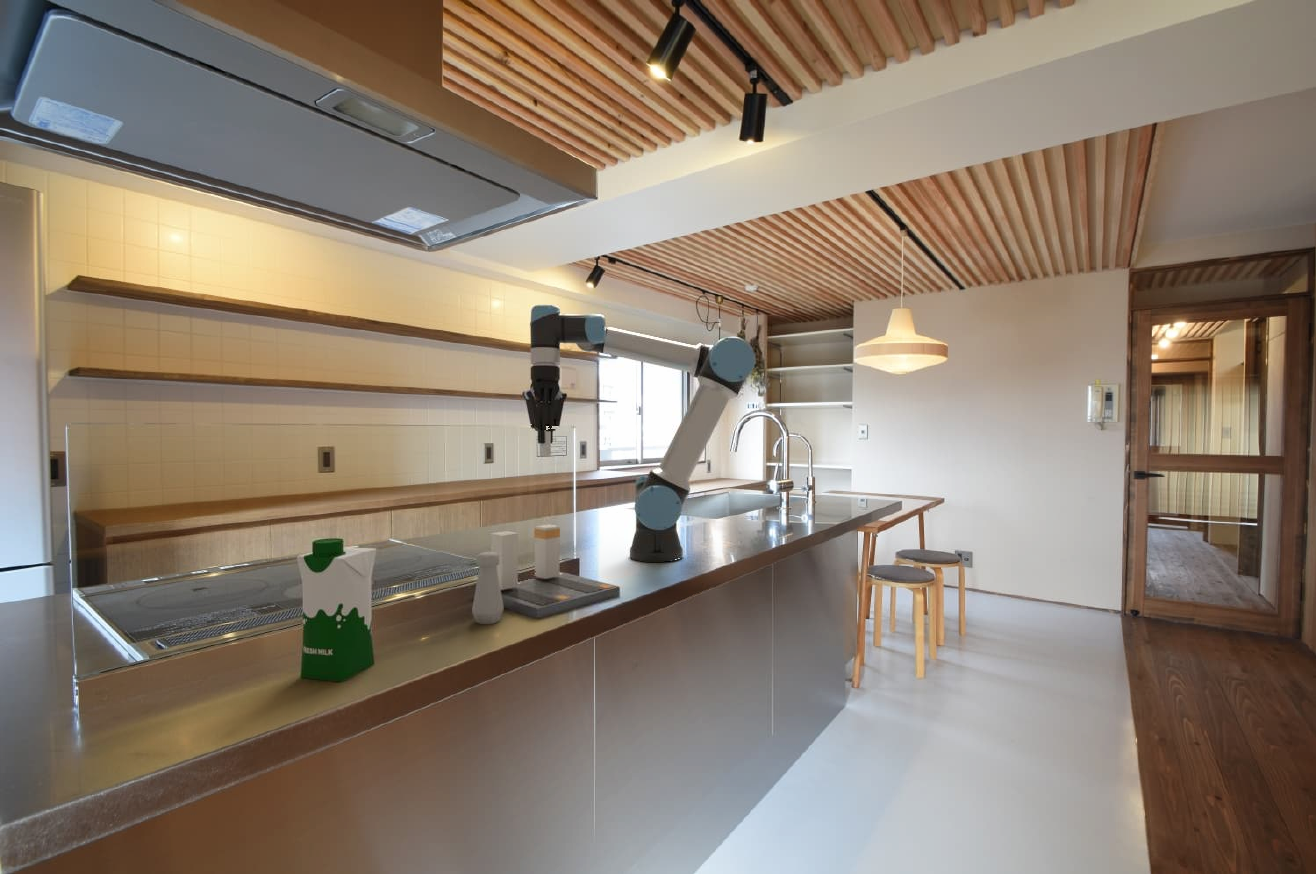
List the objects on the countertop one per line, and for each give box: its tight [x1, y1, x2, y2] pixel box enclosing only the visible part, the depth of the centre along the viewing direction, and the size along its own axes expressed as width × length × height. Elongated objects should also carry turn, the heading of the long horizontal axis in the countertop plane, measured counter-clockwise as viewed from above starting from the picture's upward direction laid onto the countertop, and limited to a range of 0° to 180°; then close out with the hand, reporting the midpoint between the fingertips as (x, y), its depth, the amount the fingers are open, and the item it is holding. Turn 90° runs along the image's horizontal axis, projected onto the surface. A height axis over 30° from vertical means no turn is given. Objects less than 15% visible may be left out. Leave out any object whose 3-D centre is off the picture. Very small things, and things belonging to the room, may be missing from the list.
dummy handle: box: [490, 530, 519, 590], centre depth 129 cm, size 4×4×12 cm
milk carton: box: [296, 537, 378, 683], centre depth 90 cm, size 9×9×20 cm
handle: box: [534, 523, 561, 579], centre depth 139 cm, size 4×4×12 cm
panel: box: [501, 571, 621, 620], centre depth 131 cm, size 22×22×2 cm
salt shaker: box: [471, 551, 504, 626], centre depth 114 cm, size 6×6×13 cm
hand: (545, 456), depth 157 cm, fingers closed
